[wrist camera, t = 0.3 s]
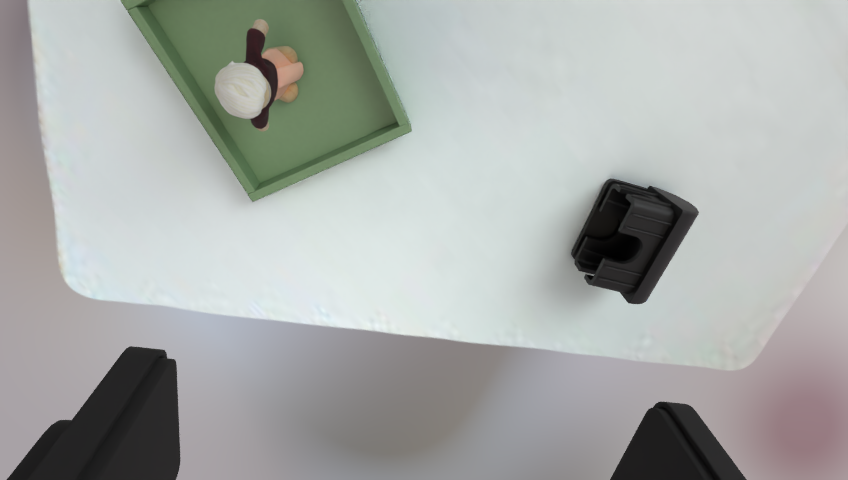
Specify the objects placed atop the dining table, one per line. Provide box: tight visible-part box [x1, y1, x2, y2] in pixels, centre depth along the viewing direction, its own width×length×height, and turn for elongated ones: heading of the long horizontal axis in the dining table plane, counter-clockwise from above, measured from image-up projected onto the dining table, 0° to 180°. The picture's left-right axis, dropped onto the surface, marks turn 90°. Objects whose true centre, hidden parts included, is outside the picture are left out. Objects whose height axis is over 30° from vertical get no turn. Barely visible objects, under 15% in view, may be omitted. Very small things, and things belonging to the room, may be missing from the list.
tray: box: [121, 0, 412, 202], centre depth 39 cm, size 18×16×2 cm
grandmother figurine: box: [214, 19, 304, 131], centre depth 34 cm, size 8×4×13 cm, turn 3°
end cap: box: [571, 179, 699, 304], centre depth 46 cm, size 10×7×7 cm
